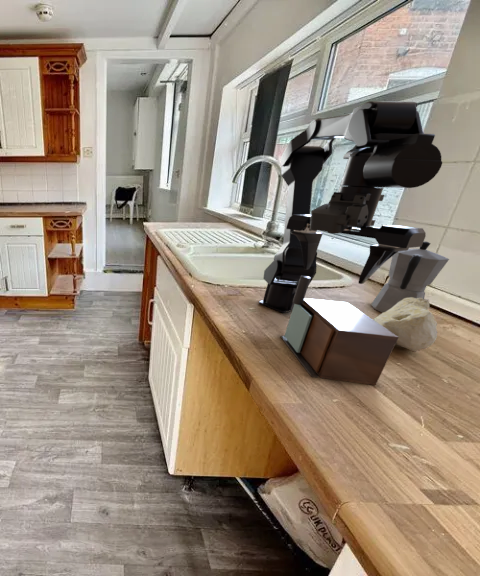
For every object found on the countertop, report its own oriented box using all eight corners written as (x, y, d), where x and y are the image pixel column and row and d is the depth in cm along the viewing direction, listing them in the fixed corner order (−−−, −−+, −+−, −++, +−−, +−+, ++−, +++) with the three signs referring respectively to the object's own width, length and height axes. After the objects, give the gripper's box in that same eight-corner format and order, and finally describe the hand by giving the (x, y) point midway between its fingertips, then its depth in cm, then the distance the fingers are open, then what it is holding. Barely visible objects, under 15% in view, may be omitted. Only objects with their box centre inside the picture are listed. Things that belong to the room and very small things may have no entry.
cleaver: (280, 335, 62) (299, 274, 57) (288, 336, 62) (308, 275, 57) (293, 352, 56) (315, 286, 51) (302, 353, 56) (326, 287, 51)
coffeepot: (376, 299, 85) (403, 234, 78) (423, 311, 78) (457, 242, 71) (362, 313, 76) (392, 241, 69) (414, 328, 69) (453, 251, 62)
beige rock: (397, 373, 56) (494, 334, 52) (372, 338, 57) (465, 297, 53) (356, 353, 71) (429, 321, 66) (337, 326, 72) (407, 292, 67)
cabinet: (280, 336, 63) (293, 296, 59) (331, 342, 61) (347, 302, 58) (311, 376, 51) (329, 329, 47) (375, 385, 49) (399, 337, 46)
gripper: (277, 183, 56) (258, 265, 61) (411, 188, 40) (369, 298, 45) (313, 185, 60) (292, 262, 66) (446, 191, 45) (404, 290, 50)
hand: (331, 275), depth 56 cm, fingers open, 9 cm apart
